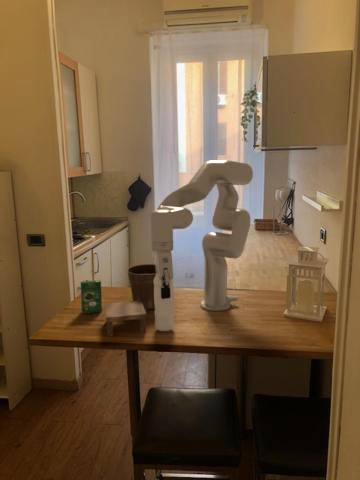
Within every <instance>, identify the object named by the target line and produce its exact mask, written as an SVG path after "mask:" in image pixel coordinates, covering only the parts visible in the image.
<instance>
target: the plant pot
mask: <svg viewBox="0 0 360 480" xmlns="http://www.w3.org/2000/svg"><path fill="white" fill-rule="evenodd" d="M126 272H127V274H128V280H129V283H130V291H131V297H132V298H131V299H132V301H142V304H143V306H144V309H145V311H149V310H150V309H152V310H155V304H154V282H153V281H154V278H155V276H156V271H155V263H149V264H148V263H147V264H136V265H133V266H129V267H128V268H127V269H126Z"/></svg>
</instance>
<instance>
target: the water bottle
mask: <svg viewBox="0 0 360 480" xmlns="http://www.w3.org/2000/svg"><path fill="white" fill-rule="evenodd" d="M162 279H165V277H162ZM169 281H170V298H166V299H162V298H161V287H162V285H161V280H160V279H159V278H158V274H157V273H156V276H155V278H154V281H153V282H154V304H155V309H154V318H155V319H154V328H155V329H156V330H157V331H160V332H167V331H168V332H169V331H172V330H173V329H174V328H175V324H176V323H175V309H174V305H175V302H174V301H175V294H174V293H175V291H174V278H173V279H170V277H169ZM164 282H165V281H163V283H164Z"/></svg>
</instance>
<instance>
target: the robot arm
mask: <svg viewBox="0 0 360 480" xmlns="http://www.w3.org/2000/svg"><path fill="white" fill-rule="evenodd" d="M253 177H254V171H253V168H252V166H251V165H250V164H248V163H245V162H240V161H233V160H228V159H227V160H226V159H225V160H223V159H221V160H218V159H217V160H208V161H205V162H204V163H203V164H202V165H201V166H200V168H199V169H198V170H197V172H196V173H195V174H194V176H193V177H192V178H191V179H190V180H189V182H187V184H185V185H183V186H181V187H180V188H179V187H178V188H177V189H176V190H174V191H172V192H171V193H170V194H169V195H167V196H165V198H164V199H163V200H162V202H161V203H159V205H158V207H157V209H154V210H152V211H151V212H150V217H149V218H150V240H151V241H150V243H151V245H150V246H151V251H152V252H154V264H155V271H156V273H157V274H158V278H159V279H160V280H161V285H162V287H161V298H162V299H166V298H170V281H169V277H170V279H173V280H174V269H173V268H174V267H173V255H172V251H174V230H185V229H188V227H190V226H191V224H192V223H193V221H194V215H193V212H192V211H191V210H190V209H188V208H186V207H185V206H187V205H191V204H195V203H198V202H201V201H203V200H205V199H206V198H207V196H208V195H209V194H210V193H211V191H212V190H213V188H214V187H215V186H216V188H217V191H218V197H217V202H216V205H215V208H214V212H213V215H212V220H211V222H212V226H213V227H214V229H216V230H220V231H226V232H231V233H226V232H219V231H210V232H207V233H205V235H204V236H203V238H202V241H201V247H202V252H203V259H204V271H203V272H204V278H203V279H204V281H203V282H204V286H203V287H204V290H203V292H204V296H203V297H204V299H203V300H201V302H200V307H201V308H203V309H204V310H207V311H210V312H211V311H213V312H223V311H226V310H229V309H230V308H231V302H238V301H239V297H238V296H236V295H235V296H233V294H232V295H228V263H227V259H226V258H228V259H232V260H235V259H236V260H237V259H238V258H240V257H241V256H242V254H243V252H244V250H245V247H246V243H247V240H248V239H247V238H248V235H249V232H250V228H251V215H250V212H249V211H248V210H246V209H244V208H238V205H239V198H240V197H239V193H238V190H237V189H236V187H235V186H246V185H248V184H251V181H252V179H253ZM162 277H165V279H162ZM163 281H165V282H164V283H163Z"/></svg>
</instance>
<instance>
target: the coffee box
mask: <svg viewBox="0 0 360 480" xmlns="http://www.w3.org/2000/svg"><path fill="white" fill-rule="evenodd" d="M80 300H81V301H80V302H81V306H80V307H81V313H82V315H85V314H93V313H94V314H95V313H101V312H102V311H103V310H102V309H103V308H102V307H103V305H102V281H101V279H97V280H95V279H94V280H84V281H80Z"/></svg>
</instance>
